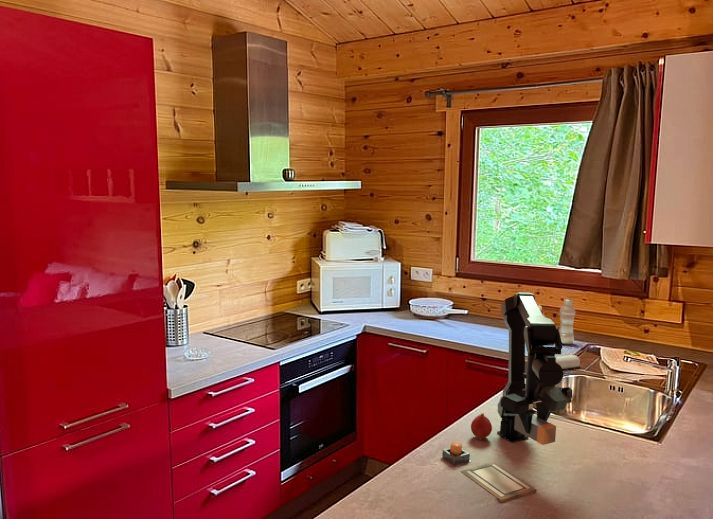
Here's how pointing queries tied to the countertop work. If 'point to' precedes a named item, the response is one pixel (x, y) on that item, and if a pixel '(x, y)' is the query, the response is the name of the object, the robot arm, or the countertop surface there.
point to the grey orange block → (537, 430)
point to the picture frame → (499, 481)
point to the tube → (564, 362)
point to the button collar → (455, 457)
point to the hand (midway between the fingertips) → (534, 431)
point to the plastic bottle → (567, 321)
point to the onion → (481, 427)
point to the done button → (456, 448)
